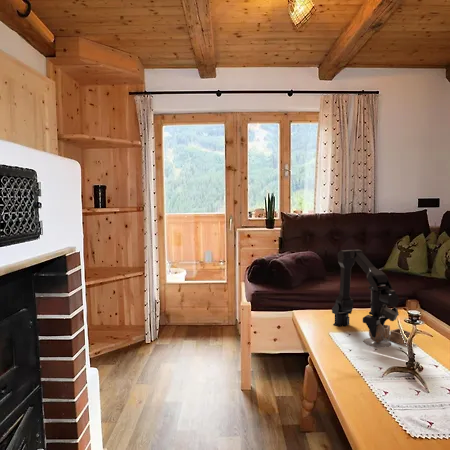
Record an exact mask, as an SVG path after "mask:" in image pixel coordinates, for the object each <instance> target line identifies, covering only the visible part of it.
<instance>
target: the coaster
mask: <svg viewBox="0 0 450 450" xmlns="http://www.w3.org/2000/svg"><path fill="white" fill-rule="evenodd" d="M362 342H363V344H365V345H366V346H369V347H373V348H379V349H381V348H382V349H384V348H386V349H387V348H390V347H391V346H392V343H391V341H390V340H387V339H384V340H383V341H381V342H375V341H373V340H372V339H371V338H370V337H368V338H367V337H366V338H364V339H363V340H362Z"/></svg>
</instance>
